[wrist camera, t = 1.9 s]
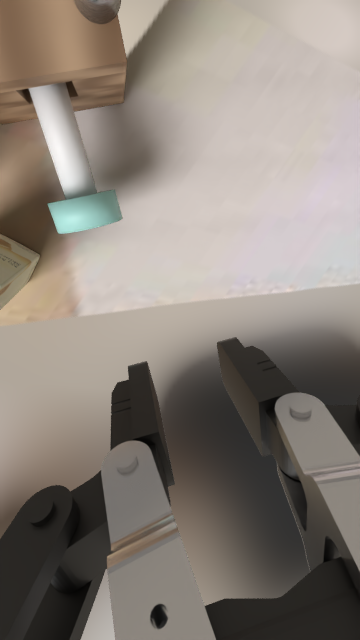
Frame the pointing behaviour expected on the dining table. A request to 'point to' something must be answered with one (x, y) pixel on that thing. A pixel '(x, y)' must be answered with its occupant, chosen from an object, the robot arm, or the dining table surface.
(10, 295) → the skincare box
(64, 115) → the knob
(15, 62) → the mount
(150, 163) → the dining table surface
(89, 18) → the dial post
